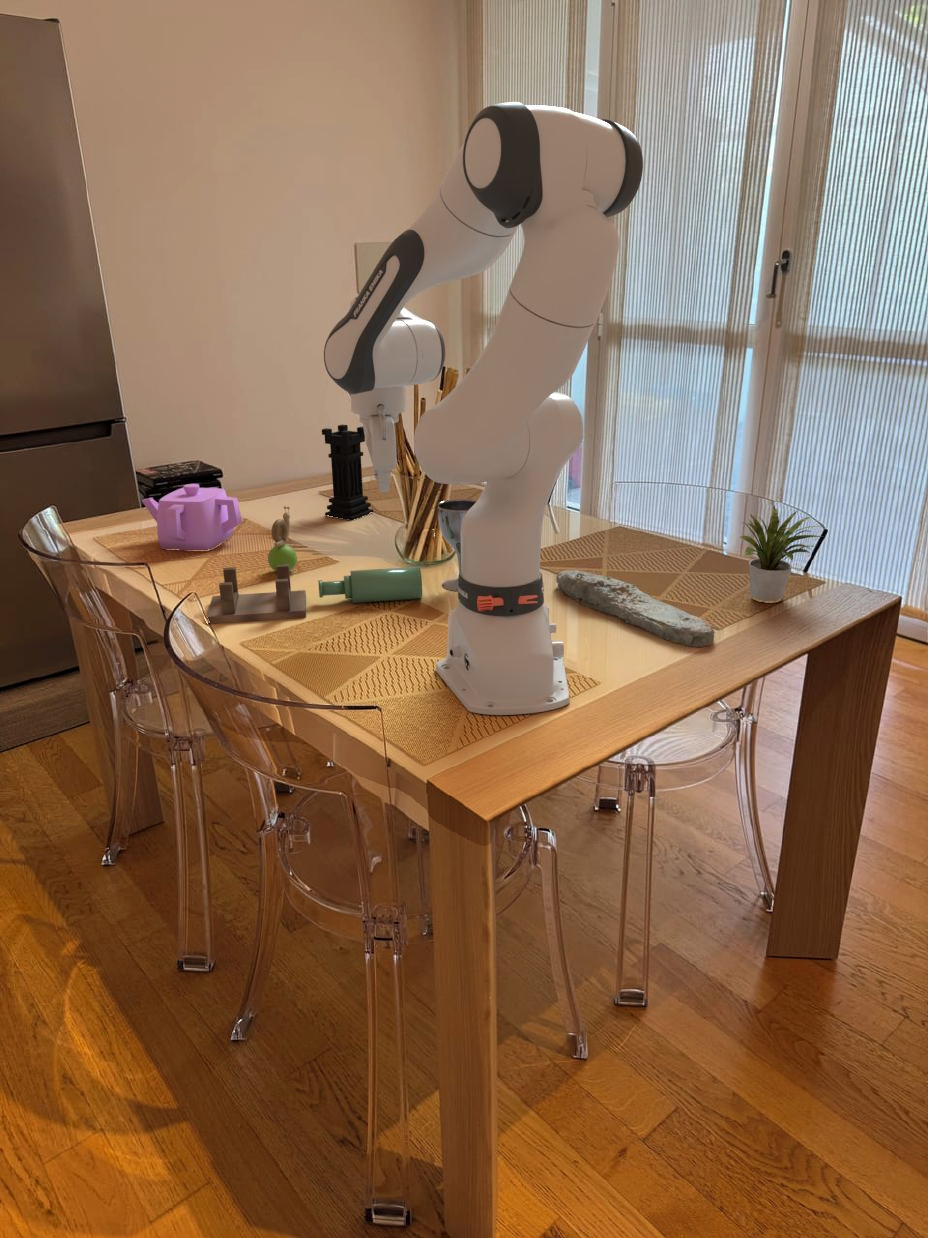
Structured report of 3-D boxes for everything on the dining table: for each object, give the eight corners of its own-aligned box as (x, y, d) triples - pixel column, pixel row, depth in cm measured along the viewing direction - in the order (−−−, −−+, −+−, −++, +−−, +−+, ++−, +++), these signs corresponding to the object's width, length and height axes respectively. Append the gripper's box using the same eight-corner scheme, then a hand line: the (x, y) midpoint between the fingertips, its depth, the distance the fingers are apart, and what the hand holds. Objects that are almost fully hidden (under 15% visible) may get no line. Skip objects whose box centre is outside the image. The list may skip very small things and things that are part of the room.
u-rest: (306, 596, 160) (303, 562, 158) (306, 617, 151) (303, 581, 149) (213, 602, 158) (209, 567, 155) (207, 623, 149) (202, 587, 146)
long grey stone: (683, 664, 136) (727, 652, 141) (688, 632, 134) (733, 621, 139) (539, 587, 162) (581, 579, 168) (542, 559, 160) (584, 552, 166)
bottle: (420, 599, 161) (417, 567, 161) (423, 597, 156) (420, 565, 156) (320, 605, 159) (318, 574, 159) (319, 604, 153) (317, 571, 153)
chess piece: (373, 512, 212) (369, 426, 205) (352, 520, 206) (347, 432, 199) (346, 508, 216) (341, 423, 209) (325, 516, 210) (319, 429, 202)
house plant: (769, 622, 147) (781, 524, 141) (704, 597, 158) (713, 506, 152) (824, 604, 154) (838, 510, 148) (759, 581, 165) (769, 494, 159)
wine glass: (478, 593, 161) (478, 511, 155) (435, 590, 162) (433, 509, 157) (486, 578, 168) (486, 499, 162) (444, 576, 169) (443, 498, 164)
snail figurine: (305, 567, 176) (300, 506, 171) (290, 577, 170) (285, 515, 165) (279, 564, 177) (274, 505, 172) (264, 575, 171) (258, 513, 167)
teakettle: (173, 559, 181) (165, 499, 177) (145, 540, 194) (136, 483, 189) (252, 543, 191) (246, 486, 186) (220, 526, 203) (214, 472, 199)
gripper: (404, 410, 136) (407, 500, 141) (392, 390, 154) (395, 470, 160) (362, 411, 135) (366, 501, 140) (355, 391, 154) (359, 472, 159)
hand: (381, 485), depth 150 cm, fingers open, 8 cm apart
